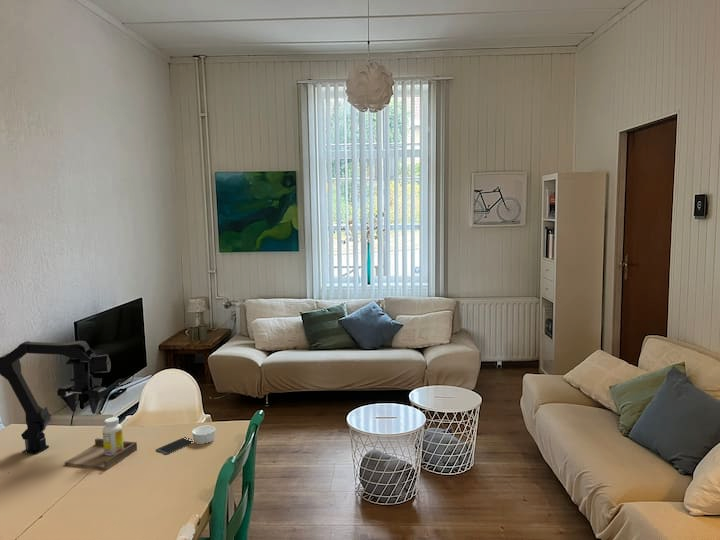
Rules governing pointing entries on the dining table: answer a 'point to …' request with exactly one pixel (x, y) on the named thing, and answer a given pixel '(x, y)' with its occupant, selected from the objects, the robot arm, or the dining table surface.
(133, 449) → the dock board
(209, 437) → the ramekin
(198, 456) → the dining table surface
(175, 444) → the cell phone
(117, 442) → the supplement bottle
